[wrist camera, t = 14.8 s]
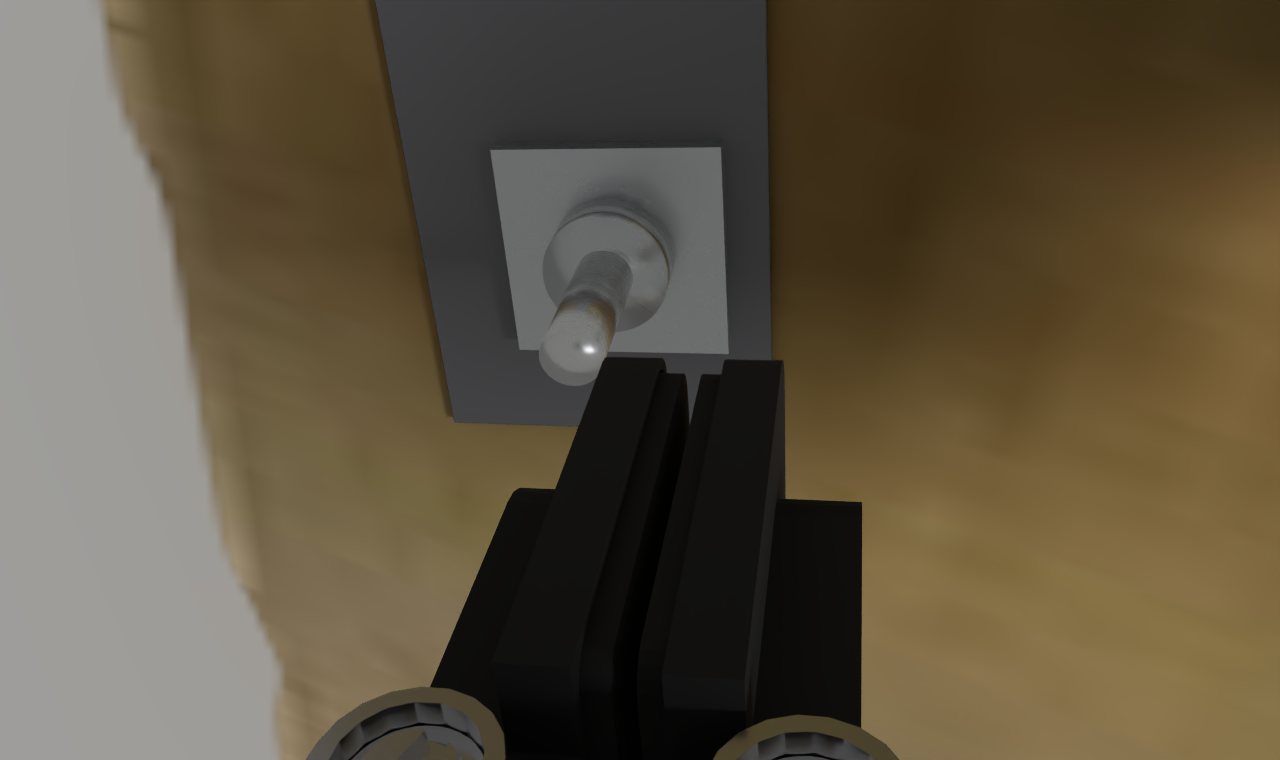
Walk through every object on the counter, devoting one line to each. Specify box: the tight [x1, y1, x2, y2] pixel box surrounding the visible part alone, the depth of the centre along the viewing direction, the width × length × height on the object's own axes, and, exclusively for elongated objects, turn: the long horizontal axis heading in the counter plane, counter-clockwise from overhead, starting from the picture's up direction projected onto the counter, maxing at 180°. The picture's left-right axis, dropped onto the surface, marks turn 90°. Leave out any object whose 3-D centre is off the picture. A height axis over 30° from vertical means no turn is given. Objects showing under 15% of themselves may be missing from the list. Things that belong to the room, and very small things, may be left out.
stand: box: [490, 139, 731, 386], centre depth 39 cm, size 8×8×8 cm
